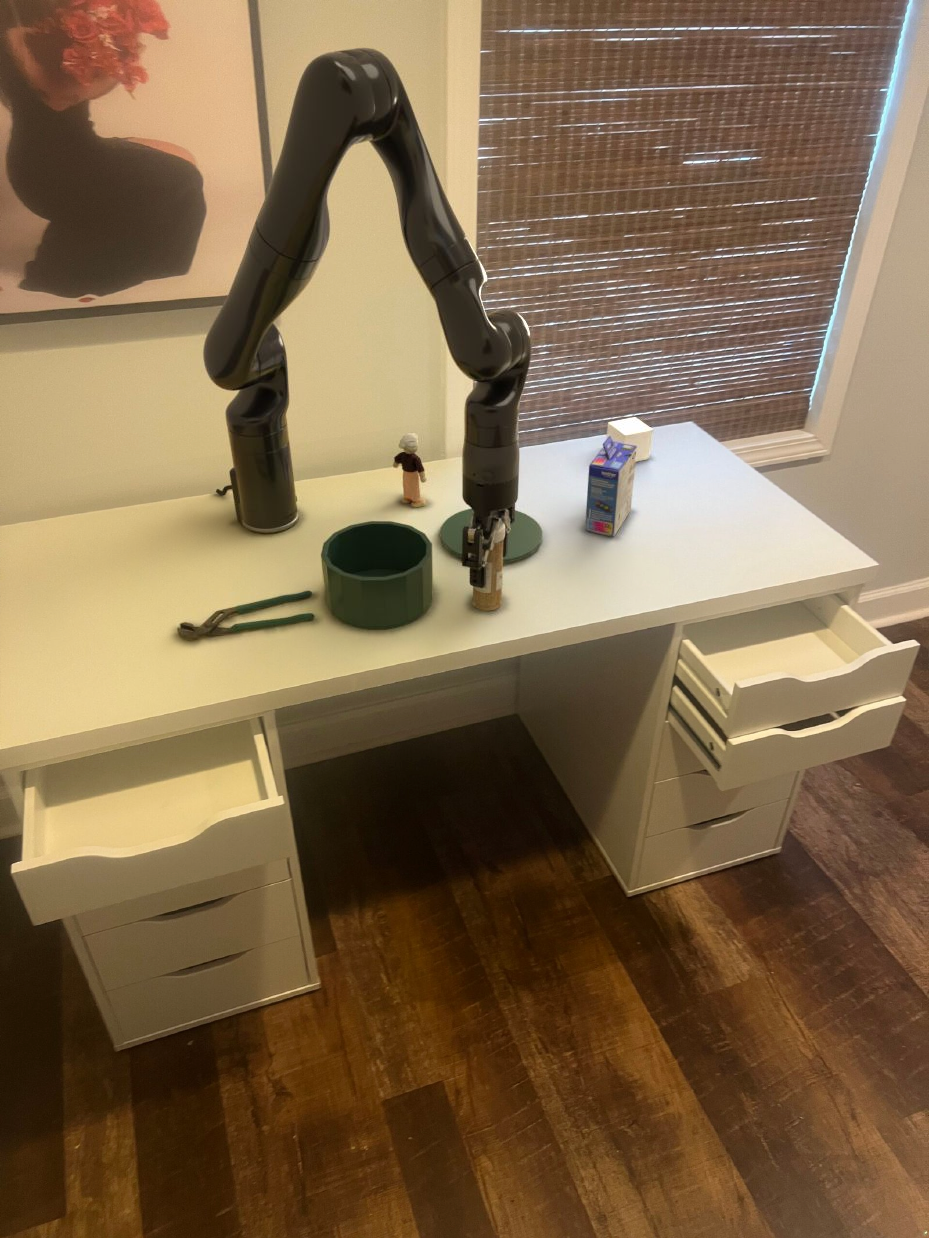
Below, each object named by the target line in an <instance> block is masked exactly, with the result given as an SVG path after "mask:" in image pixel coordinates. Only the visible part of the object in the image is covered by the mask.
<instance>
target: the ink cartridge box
mask: <svg viewBox="0 0 929 1238" xmlns="http://www.w3.org/2000/svg"><path fill="white" fill-rule="evenodd" d="M636 454H637V446H635V445H629V444H624V443H619V442H614V441H613V440H612V438H611V436H609V437H608V438H607V439H606V438H605V440H604V441H603V443H602V447H601V450H599V452H598V453H597V455H595V457H594V458H593V460H592V461H591V462H590V464H589V465H588V477H587V478H588V479H587V491H586V493H587V494H586V507H585V509H586V510H585V525H584V526H585V527H584V530H585V531H587V532H592V533H595V534H600V535H604V536H607V537H612V538H613V537H615V536H616V534H617V533H618V531H619V530H620V528H621V526H622V525H623V524H624V522H625V520H626V519H627V517H628V515H629V514H630V512H631V511H632V501H633V492H634V483H635V482H634V481H635V472H636V463H637V462H636Z"/></svg>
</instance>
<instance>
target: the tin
mask: <svg viewBox="0 0 929 1238" xmlns="http://www.w3.org/2000/svg"><path fill="white" fill-rule="evenodd" d="M320 559H321V569H322V579H323V586H324V587H323V588H324V589H323V590H324V597H325V602H326V606H327V608H328V610H329V612H330V614H331V615H332V616H333V617H334V618H335V619H337V620H338V621H339V622H341V623H343V624H345V625H347V626H350V627H353V628H358V629H363V630H370V631H371V630H374V631H378V630H379V631H380V630H391V629H396V628H400V627H404V626H406V625H409V624H411V623H413V622H415V621H417V620H418V619H420V618H422V617H423V616H424V615H425V614H426V613H427V612H428V611H429V609H430V607H431V606H432V603H433V598H434V573H433V570H434V569H433V567H434V566H433V543H432V541H431V540H430V539H429V537H428V535H426V533H425V532H423V531H421V530H420V529H418V528H415V527H414V526H412V525H410V524H405V523H401V522H397V521H392V520H370V521H365V522H358V523H353V524H350V525H348V526H345V527H344V528H341V529H339V530H337V531H335V532H333V533H332V534H331V535H330V536H329V537H328V538H327V539H326V540H325V541H324V542H323V544H322V549H321V553H320Z"/></svg>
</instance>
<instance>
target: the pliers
mask: <svg viewBox="0 0 929 1238" xmlns="http://www.w3.org/2000/svg"><path fill="white" fill-rule="evenodd" d="M311 596H313V592H312V591H311V590H305V591H302V592H298V593H291V594H290V593H289V594H283V595H278V596H274V597H271V598H265V599H262V600H257V601H253V602H249V603H245V604H244V603H243V604H240V605H236V606H233V607H228V608H223V609H219V610H216V611H214V613H212V615H210V616H209V617H208V618H207V619H206V620H205V621H204V622H203V623H202V624H201V625H200V626H195V625H194V624H193V623H191V622H187V621H183V622H180V623H179V626H180V627H177V628H176V631H177V634H178V635H179V637H181V638H182V639H185V640H188V641H189V640H190V641H194V640H197V639H198V638H201V637H213V636H218V635H219V636H220V635H225V634H235V633H239V632H245V631H252V630H259V629H265V628H272V627H279V626H286V625H291V624H295V623H298V622H303V621H313V620H315V617H316V615H315V614H314V613H313V612H305V613H298V614H295V615H291V616H286V617H279V618H271V619H262V620H254V621H247V622H239V623H234V624H232V626H230V627H222V626H220V624H221V623H222V622H223V621H225V619H228V618H229V617H231V616H233V615H237V614H238V615H242V614H245V613H249V612H253V611H257V610H261V609H264V608H269V607H271V606H275V605H279V604H283V603H287V602H295V601H299V600H305V599H307V598H310V597H311ZM219 616H220V617H219Z"/></svg>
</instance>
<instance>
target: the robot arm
mask: <svg viewBox="0 0 929 1238" xmlns="http://www.w3.org/2000/svg"><path fill="white" fill-rule="evenodd" d="M422 133H423V132H422V130H421V128H420V126H419V123H418V120H417V117H416V114H415V112H414V109H413V106H412V103H411V101H410V98H409V95H408V93H407V91H406V88H405V85H404V83H403V81H402V79H401V77H400V74H399V73H398V71H397V69H396V67H395V66H394V64H393V62H391V60H390V59H389V58H388V57H387V56H386V55H385V54H384V53H382V51H380V50H377V49H375V48H371V47H370V48H369V47H357V48H349V49H343V50H335V51H329V52H325V53H323V54H320V55H318V56H317V57H315V58H313V60H311V61H310V62H309V63H308V64H307V66H306V67H305V69H304V71H303V73H302V74H301V77H300V79H299V82H298V85H297V88H296V92H295V95H294V99H293V103H292V107H291V111H290V115H289V120H288V123H287V127H286V132H285V135H284V140H283V143H282V148H281V151H280V155H279V158H278V160H277V163H276V166H275V168H274V171H273V175H272V177H271V180H270V183H269V185H268V186H269V187H268V189H267V191H266V195H265V197H264V200H263V203H262V205H261V207H260V210H259V212H258V214H257V216H256V219H255V222H254V225H253V227H252V230H251V233H250V235H249V239H248V242H247V243H246V244H247V245H246V248H245V250H244V253H243V256H242V259H241V261H240V264H239V267H238V269H237V272H236V274H235V276H234V279H233V282H232V284H231V287H230V289H229V292H228V295H227V296H226V299H225V300H224V303H223V305H222V307H221V308H220V310H219V312H218V313H217V316H216V318H215V319H214V321H213V323H212V325H211V326H210V328H209V330H208V332H207V335H206V337H205V340H204V344H203V350H202V359H203V364H204V369H205V371H206V373H207V375H208V377H209V379H210V380H211V381H212V383H213V384H214V385H216V386H217V387H219V388H221V389H222V390H226V391H229V392H230V391H231V392H234V391H238V392H237V394H236V395H235V396H234V398H233V399H232V400H231V401H230V402H229V403H228V405H227V406H226V408H225V423H226V428H227V434H228V440H229V447H230V452H231V458H232V468H230V470H229V473H228V474H229V478H230V480H229V481H230V484H229V485H225V486H224V487H223V488H222V490H221V489H220V488H217V489H216V490H215V493H216V494H218V495H220V496H225V495H226V494H227V493H228V491H229V490H231V491H232V498H233V503H234V509H235V517H236V521H237V523H239V524H242V526H243V527H244V528H245V529H247V530H248V531H251V532H254V533H259V534H273V533H279V532H282V531H285V530H287V529H291V528H292V527H293V526H295V524H297V523H298V521H299V518H300V514H299V510H298V497H297V493H296V485H295V476H294V469H293V468H294V467H293V460H292V452H291V451H292V450H291V443H290V436H289V425H288V418H287V413H288V410H289V406H290V386H289V385H290V384H289V366H288V355H287V351H286V350H287V349H286V346H285V342H284V339H283V336H282V334H281V331H280V330H279V329H278V327H277V326H276V324H274V322H276V320H277V319H278V318H279V317H280V316H281V315H282V314H283V313H284V312H285V311H286V310H288V308H289V307H290V306H291V305H292V304H293V303H294V302H295V301H296V300H297V298H298V297H299V296H300V295H301V294H302V293H303V291H304V290H305V289H306V288H307V287H308V285H309V284H310V282H311V281H312V279H313V277H314V275H315V273H316V271H317V269H318V267H319V264H320V263H321V260H322V258H323V257H324V253H325V252H326V248H327V247H328V246H327V245H328V243H329V240H330V235H331V234H330V233H331V220H330V210H329V204H328V195H329V194H328V193H329V190H330V187H331V184H332V181H333V179H334V177H335V175H336V172H337V170H338V168H339V166H340V164H341V162H342V161H343V159H344V157H345V155H346V154H347V152H348V151H349V150H350V148H352V147H353V146H354V145H358V144H362V143H365V142H369V143H370V145H371V146H372V148H373V149H374V150H375V152H376V154H377V155H378V156H379V158H380V159H381V161H382V162H383V164H384V166H385V168H386V170H387V172H388V175H389V177H390V179H391V183H392V186H393V189H394V194H395V198H396V202H397V209H398V210H397V211H398V217H399V222H400V230H401V234H402V235H401V236H402V239H403V243H404V246H405V249H406V252H407V253H408V256H409V258H410V260H411V262H412V264H413V267H414V268H415V270H416V271H417V274H418V275H419V277H420V279H421V280H422V282H423V284H424V286H425V288H426V289H427V291H428V292H429V295H430V296H431V298H432V300H433V301H434V303H435V306H436V307H435V308H436V310H437V311H436V312H437V315H438V319H439V323H440V326H441V329H442V332H443V336H444V339H445V342H446V345H447V349H448V352H449V354H450V356H451V358H452V360H453V362H454V364H455V365H456V367H457V368H458V369H459V371H460V372H462V373H463V375H464V376H466V377H467V378H468V379H469V380H472V381H474V382H476V384H475V386H474V388H472V390H471V391H470V392H469V394H468V395H467V396H466V399H465V402H464V408H463V409H464V410H463V414H464V415H463V417H464V418H463V419H464V421H463V423H464V424H463V425H464V427H463V428H464V429H463V431H464V433H463V434H464V435H463V446H462V452H461V453H462V454H461V455H462V456H461V459H462V461H461V462H462V464H461V465H462V467H461V469H462V470H461V471H462V473H461V475H462V476H461V477H462V482H461V485H462V490H461V492H462V493H461V494H462V495H461V496H462V500H463V501H464V503H465V504H466V505H467V506H468V507H469V508H470V509H471V508H472V509H473V511H474V513H473V515H472V518H471V527H468V526H464V528H463V535H462V557H461V566H462V567H465V568H468V569H469V585H470V586H471V587H473V586H474V587H478V588H484V586H485V585H486V563H487V558H488V553H489V551H491V550H493V547H494V543H495V539H496V535H497V532H498V531H499V529H500V526H501V521H503V522H504V524H505V537H504V540H503V557H505V556H506V555H507V549H508V534H509V532H510V530H511V528H510V523H511V524H513V523H514V521H515V510H516V503H517V501H518V498H519V482H520V481H519V480H520V478H519V477H520V456H521V455H520V443H519V431H520V429H519V428H520V404H521V400H522V396H523V393H524V389H525V387H526V382H527V377H528V373H529V368H530V364H531V358H532V347H533V346H532V344H533V343H532V337H531V332H530V329H529V325H528V324H527V322H526V320H525V319H524V318H523V317H522V315H521V314H519V313H518V312H516V311H514V310H512V309H507V308H501V309H497V310H494V311H491V312H489V313H488V314H487V313H486V311H485V307H484V305H483V301H482V296H481V295H482V293H483V291H484V290H485V289H486V288H487V285H488V275H487V273H486V270H485V268H484V266H483V264H482V262H481V259H480V258H479V256H478V254H477V252H476V251H475V249H474V247H473V246H472V243H471V242H470V240H469V238H468V237H467V235H466V233H465V231H464V229H463V228H462V225H461V224H460V222H459V219H458V218H457V216H456V214H455V212H454V210H453V208H452V206H451V204H450V201H449V199H448V198H447V195H446V192H445V190H444V188H443V186H442V184H441V181H440V178H439V176H438V173H437V170H436V167H435V165H434V163H433V160H432V157H431V155H430V152H429V149H428V147H427V144H426V142H425V139H424V136H423V134H422ZM508 511H509V512H508ZM508 513H509V514H508ZM507 533H508V534H507ZM483 539H486V540H489V541H488V543H483ZM482 549H483V553H482ZM474 554H475V556H474Z"/></svg>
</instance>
